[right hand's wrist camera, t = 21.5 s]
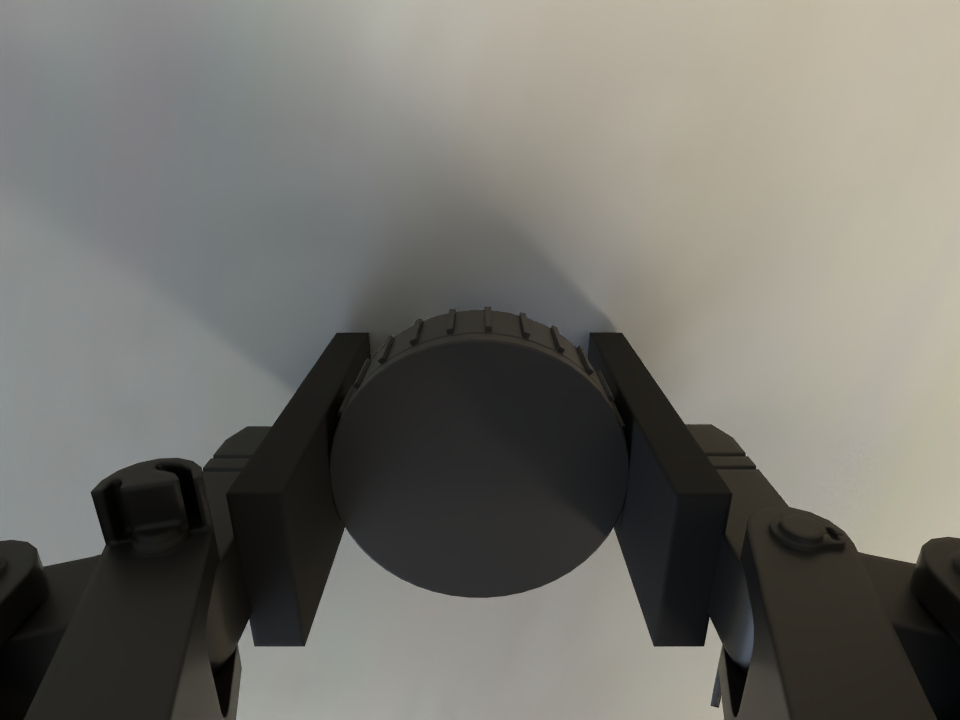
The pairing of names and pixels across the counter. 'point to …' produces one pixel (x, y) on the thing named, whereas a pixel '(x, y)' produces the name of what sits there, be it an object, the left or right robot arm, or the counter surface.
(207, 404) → the counter surface
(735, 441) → the right robot arm
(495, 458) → the lid
